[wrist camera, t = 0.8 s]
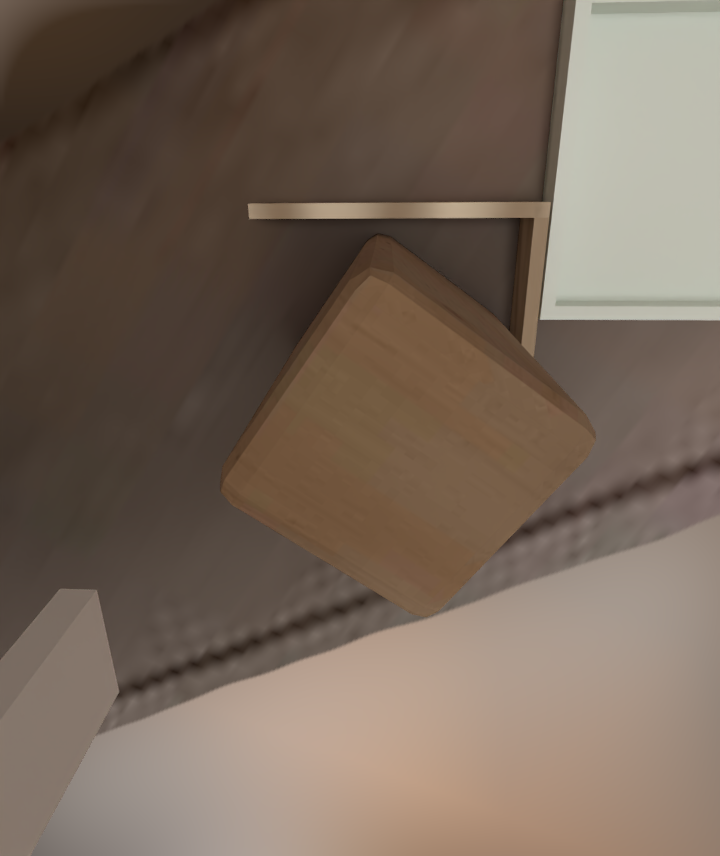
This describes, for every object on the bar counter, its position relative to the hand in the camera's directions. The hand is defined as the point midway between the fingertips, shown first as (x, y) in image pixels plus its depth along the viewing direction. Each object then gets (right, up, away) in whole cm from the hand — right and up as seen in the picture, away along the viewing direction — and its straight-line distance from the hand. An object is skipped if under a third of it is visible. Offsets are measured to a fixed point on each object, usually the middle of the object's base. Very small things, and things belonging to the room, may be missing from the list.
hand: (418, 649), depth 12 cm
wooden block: (+1, +11, +26) cm, 28 cm away
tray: (+18, +20, +22) cm, 34 cm away
